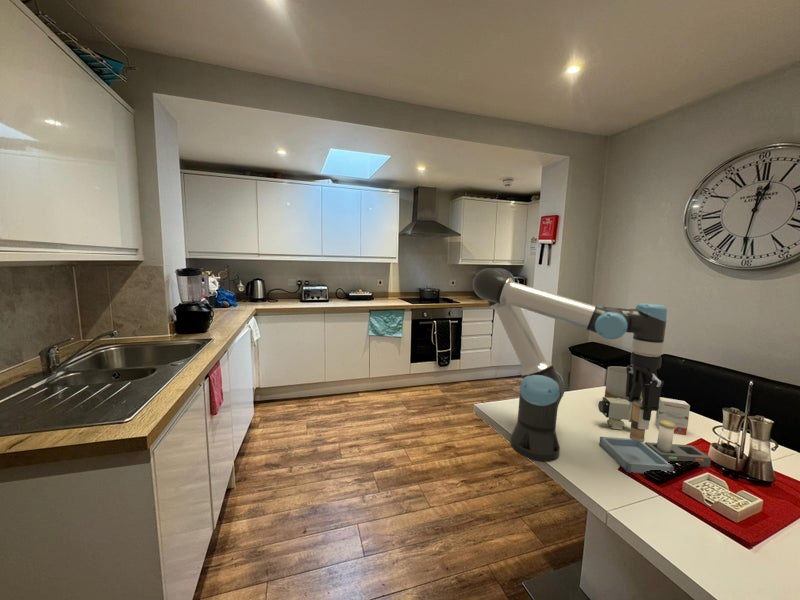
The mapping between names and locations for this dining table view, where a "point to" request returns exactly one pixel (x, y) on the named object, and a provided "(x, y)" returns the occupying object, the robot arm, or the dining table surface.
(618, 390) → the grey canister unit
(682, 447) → the fuse holder
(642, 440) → the fuse
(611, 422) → the pneumatic valve
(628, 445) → the parts tray
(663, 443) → the cylinder
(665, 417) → the ink box
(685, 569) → the dining table surface
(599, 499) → the dining table surface
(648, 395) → the robot arm
